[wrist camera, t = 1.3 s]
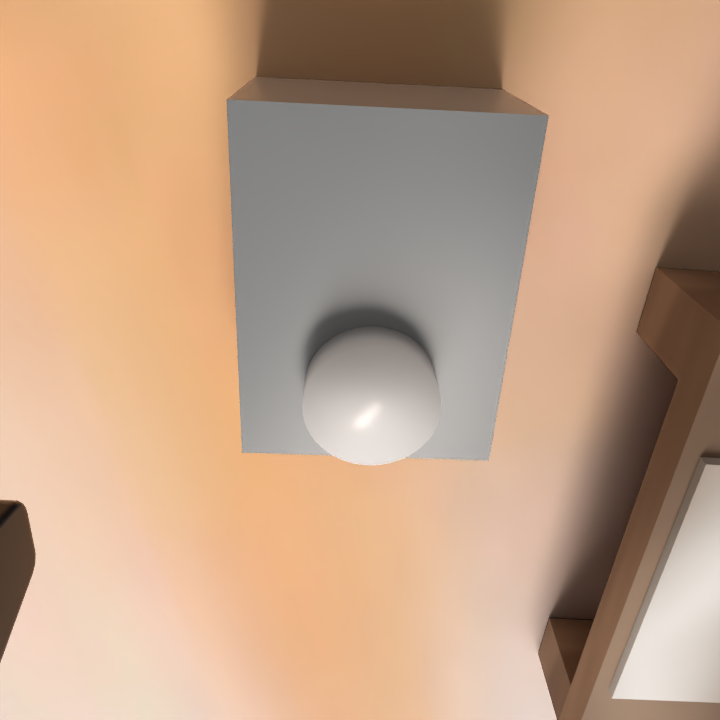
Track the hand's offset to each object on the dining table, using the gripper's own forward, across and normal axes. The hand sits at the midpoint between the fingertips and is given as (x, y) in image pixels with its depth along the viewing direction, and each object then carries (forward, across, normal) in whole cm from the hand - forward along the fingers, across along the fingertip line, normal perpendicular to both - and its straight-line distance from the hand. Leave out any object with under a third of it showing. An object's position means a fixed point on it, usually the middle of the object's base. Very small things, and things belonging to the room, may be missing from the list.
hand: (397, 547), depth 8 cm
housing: (+12, 0, 0) cm, 12 cm away
